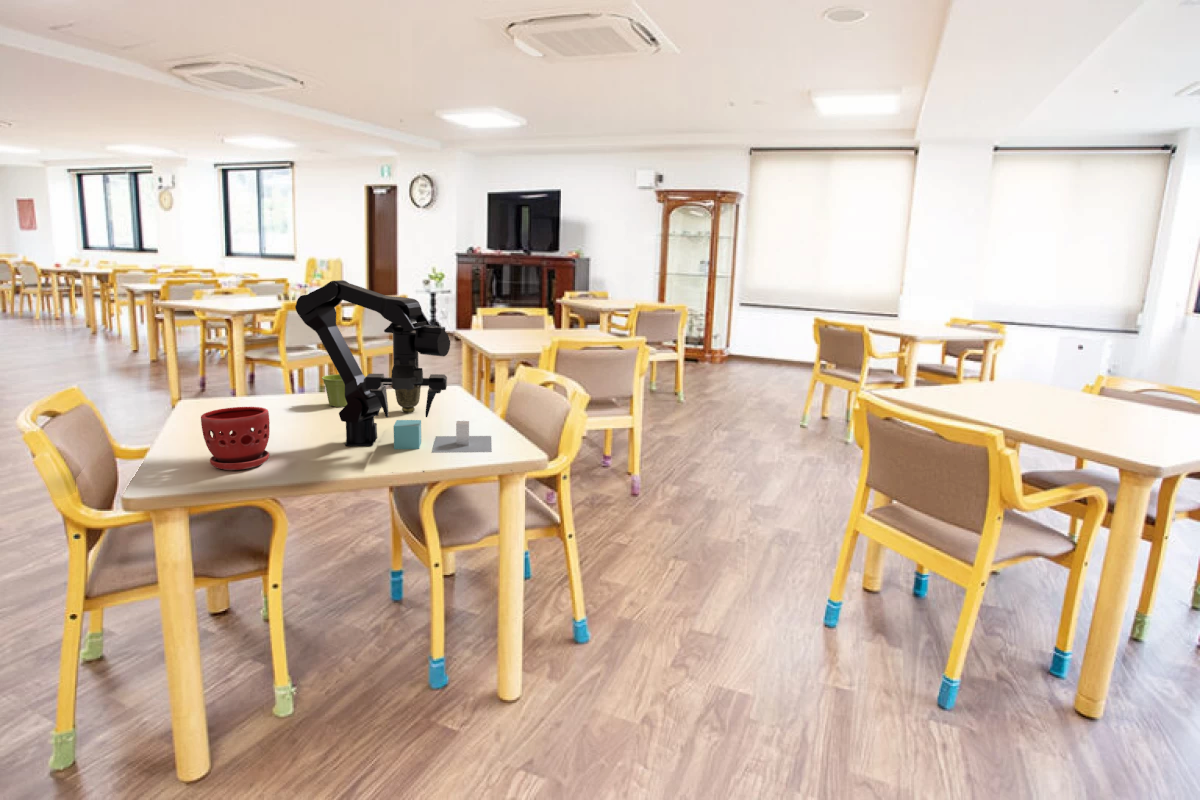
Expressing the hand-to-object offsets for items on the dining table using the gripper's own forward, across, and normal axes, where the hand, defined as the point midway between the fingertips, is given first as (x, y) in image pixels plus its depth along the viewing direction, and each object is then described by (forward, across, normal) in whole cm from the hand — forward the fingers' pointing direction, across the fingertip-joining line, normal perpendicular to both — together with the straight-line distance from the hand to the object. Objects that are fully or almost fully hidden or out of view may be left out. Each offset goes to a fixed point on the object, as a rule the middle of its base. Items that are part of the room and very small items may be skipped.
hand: (406, 416), depth 165 cm
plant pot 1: (+8, -35, -10) cm, 37 cm away
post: (+7, +13, +1) cm, 15 cm away
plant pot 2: (+9, -25, +47) cm, 54 cm away
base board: (+8, +13, +1) cm, 15 cm away
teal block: (+8, 0, 0) cm, 8 cm away
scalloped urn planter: (+8, -4, +38) cm, 39 cm away
